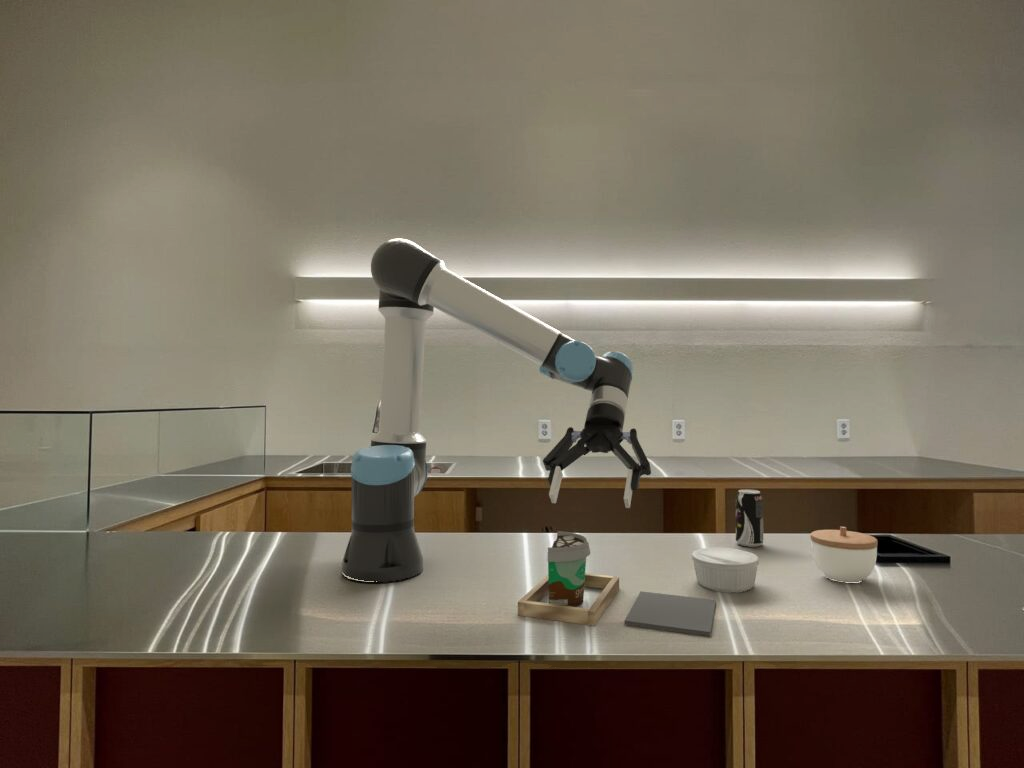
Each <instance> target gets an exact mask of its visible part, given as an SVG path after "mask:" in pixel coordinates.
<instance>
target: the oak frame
mask: <svg viewBox="0 0 1024 768" xmlns="http://www.w3.org/2000/svg"><path fill="white" fill-rule="evenodd" d="M584 587H589V588H594V589H595V588H597V589H602V591H601V593H600V594H599V595H598V597H597V598H596V599H595V601H594V602H593V604H592V605H591V606H590V607H589V608H585V607H580V606H578V607H571V606H564V605H556V604H549V602H540V601H541V599H543V597H545V595H546V594H548V593H549V582H548V574H546V576H544V577H543V578H542V579H541V580H539V581H538V583H536V585H534V587H533V588H531V589H530V590H529V591H528V592H527V593H526V594H524V596H523V597H522V598H520V599H519V600H518V601H517V616H521V617H528V618H538V619H545V620H550V621H556V622H557V621H558V622H559V621H560V622H564V623H565V622H566V623H571V624H578V625H579V624H580V625H584V626H585V625H586V626H593V627H594V626H596V624H597V623H598V621H599V620H600V618H601V617H602V615H603V614H604V613H605V611H606V609H607V608H608V606H609V605H610V603H611V601H612V600H613V599H614V597H615V595H616V594H617V593H618V591H619V590H620V576H614V575H603V574H597V573H596V574H594V573H587V572H585V584H584Z"/></svg>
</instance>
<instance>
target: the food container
mask: <svg viewBox="0 0 1024 768" xmlns="http://www.w3.org/2000/svg"><path fill="white" fill-rule="evenodd" d="M590 548H591V547H590V543H589V541H588V540H587V537H585V536H584V535H582V534H580V533H576V532H568V531H559V530H557V531H556V539H555V540H554V541H553V543H552V546H551V547H547V568H548V569H547V570H548V571H547V572H548V573H547V575H548V582H549V591H548V604H556V605H564V606H571V607H580V606H582V605H583V604H584V598H585V597H584V596H585V586H584V584H585V573H586V566H587V557H589V556H590V555H591V549H590Z"/></svg>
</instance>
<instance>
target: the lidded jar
mask: <svg viewBox="0 0 1024 768" xmlns="http://www.w3.org/2000/svg"><path fill="white" fill-rule="evenodd" d="M810 540H811V546H810V547H811V554H812V558H813V561H814V564H815V566H816V567H817V569H818V570H819V571H820V572H821V573H822V574H823V575H824V577H825V576H826V577H828V578H830V579H834V580H837V581H843V582H859V581H862V580H863V581H864V580H866V579H867V578H868V577H869V576H870V575H871V574H872V572H873V571H874V569H875V567H876V563H877V557H878V545H879V544H878V543H879V542H878V539H877V538H876V537H875V536H872V535H870V534H867V533H862V532H858V531H851V530H847V527H846V526H839V529H817V530H814V531H812V532H811V533H810Z"/></svg>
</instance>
